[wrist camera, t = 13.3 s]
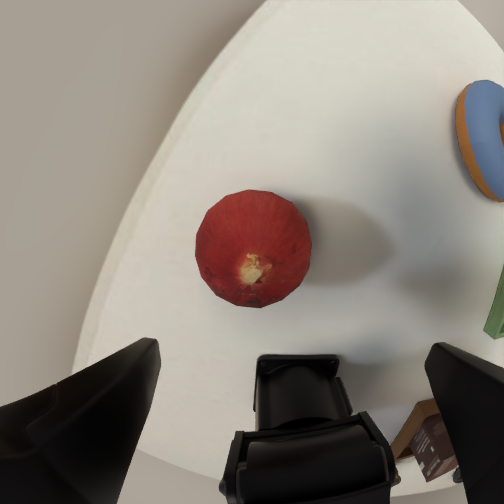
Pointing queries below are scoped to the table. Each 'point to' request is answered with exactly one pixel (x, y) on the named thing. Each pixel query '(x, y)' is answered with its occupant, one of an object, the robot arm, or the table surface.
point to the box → (433, 448)
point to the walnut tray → (412, 428)
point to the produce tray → (497, 313)
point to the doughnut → (483, 135)
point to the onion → (253, 248)
